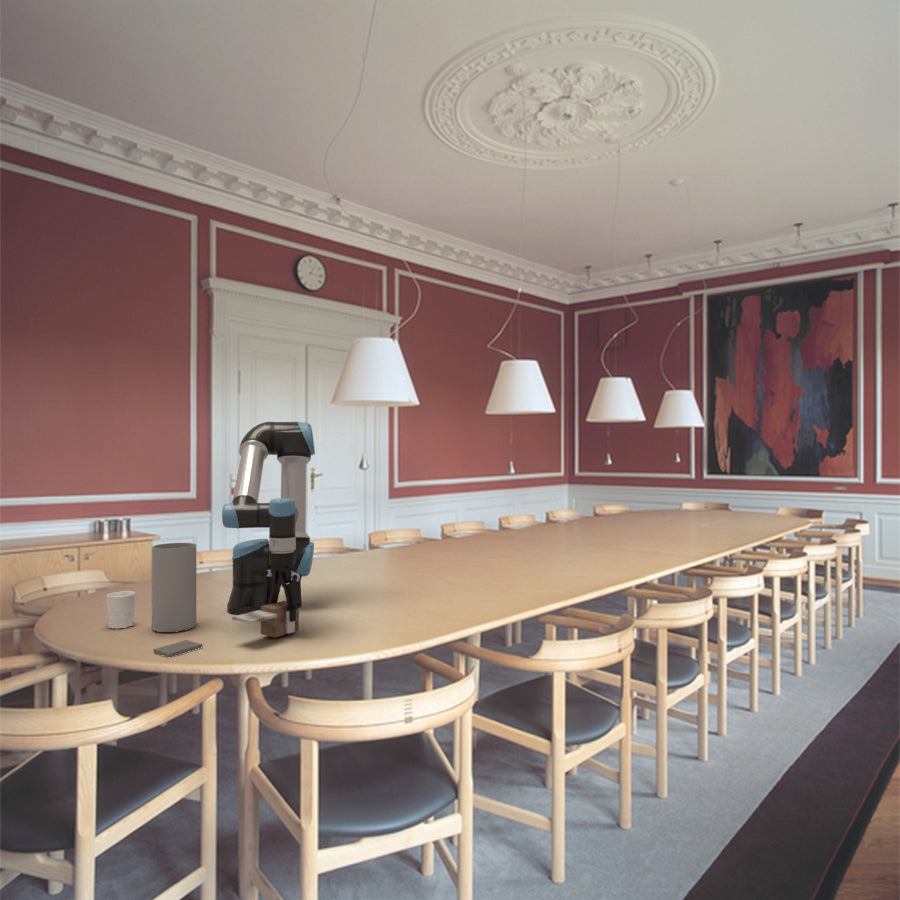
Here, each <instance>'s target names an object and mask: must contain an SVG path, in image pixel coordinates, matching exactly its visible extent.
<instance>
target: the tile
mask: <svg viewBox="0 0 900 900" xmlns="http://www.w3.org/2000/svg"><path fill="white" fill-rule="evenodd" d="M201 647H202V648H203V643H200V642H196V641H193V640H192V641H191V640H187V639H185V640H181V641H177V642H174V643H171V644H168V645H164V646H161V647H157V648H154V649H153V650H152V651H153V652H154V653H157V654H160V655H159V656H161V655H164V656H167V657H166V658H168V657H171V658H173V657H172V656H174V657H176V656H175V655H178V656H180V655H179V654H181V655H183V654H182V653H185V652H188V651H191V652H193V651H192V650H195V649H198V648H201ZM202 648H201V649H202ZM198 650H199V649H198ZM195 651H196V650H195ZM154 653H153V654H154ZM188 653H189V652H188ZM157 654H156V655H157ZM185 654H186V653H185ZM164 656H163V657H164Z"/></svg>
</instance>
